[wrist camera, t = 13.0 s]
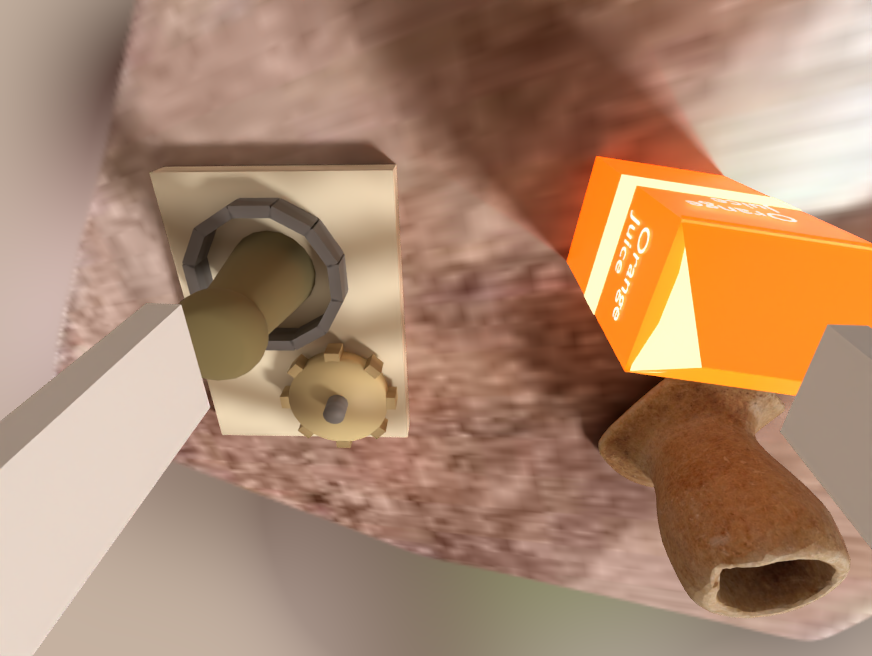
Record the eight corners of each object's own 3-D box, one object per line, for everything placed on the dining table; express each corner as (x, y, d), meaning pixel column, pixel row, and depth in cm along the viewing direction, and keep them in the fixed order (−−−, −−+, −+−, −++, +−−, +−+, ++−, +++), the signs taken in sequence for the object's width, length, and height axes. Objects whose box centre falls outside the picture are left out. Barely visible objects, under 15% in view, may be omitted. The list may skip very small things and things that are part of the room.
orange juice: (595, 153, 33) (749, 264, 16) (725, 173, 34) (1018, 304, 16) (564, 263, 37) (661, 452, 19) (682, 281, 37) (881, 482, 20)
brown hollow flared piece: (665, 497, 48) (743, 665, 35) (575, 433, 45) (624, 592, 31) (811, 396, 42) (974, 554, 29) (719, 315, 39) (855, 450, 25)
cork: (239, 309, 38) (163, 397, 28) (223, 230, 35) (131, 297, 25) (320, 310, 37) (271, 399, 28) (310, 230, 34) (252, 299, 25)
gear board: (164, 166, 35) (117, 184, 30) (396, 164, 34) (385, 182, 29) (231, 420, 45) (204, 463, 40) (409, 422, 45) (403, 467, 40)
